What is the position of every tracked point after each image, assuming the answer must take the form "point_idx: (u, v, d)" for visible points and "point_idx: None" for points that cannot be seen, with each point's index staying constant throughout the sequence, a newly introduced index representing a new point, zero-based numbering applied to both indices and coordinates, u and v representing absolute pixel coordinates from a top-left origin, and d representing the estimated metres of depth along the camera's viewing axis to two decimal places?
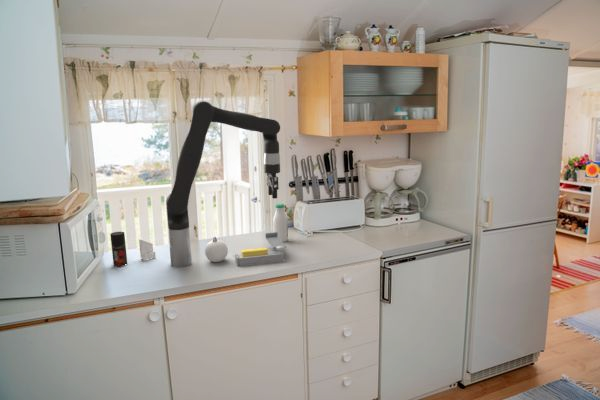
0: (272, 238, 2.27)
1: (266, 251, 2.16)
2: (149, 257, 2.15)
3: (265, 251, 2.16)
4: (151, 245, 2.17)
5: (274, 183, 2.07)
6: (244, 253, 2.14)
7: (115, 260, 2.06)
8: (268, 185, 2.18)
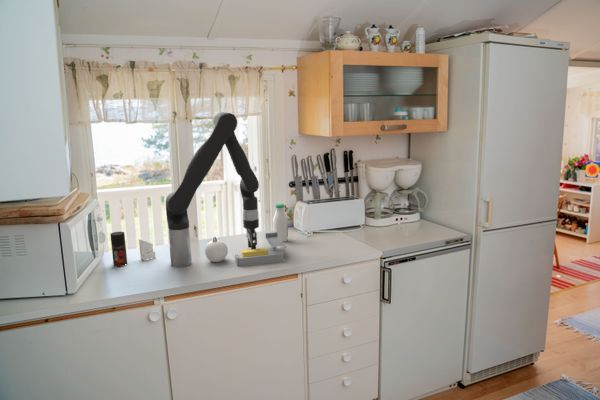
0: (272, 238, 2.27)
1: (266, 252, 2.16)
2: (149, 257, 2.15)
3: (265, 252, 2.15)
4: (151, 245, 2.17)
5: (253, 239, 2.15)
6: (244, 254, 2.13)
7: (115, 260, 2.06)
8: (247, 238, 2.25)
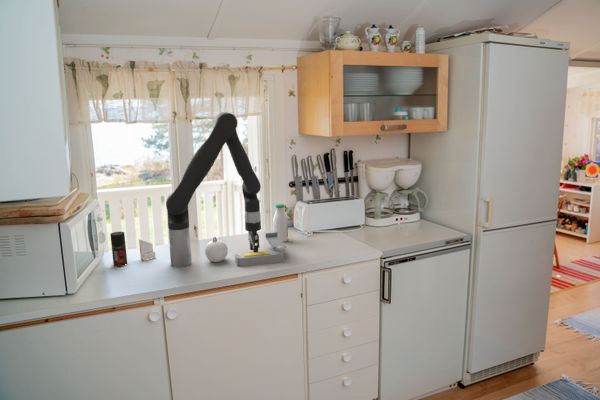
0: (272, 238, 2.27)
1: None
2: (149, 257, 2.15)
3: None
4: (151, 245, 2.17)
5: (255, 242, 2.10)
6: None
7: (115, 260, 2.06)
8: (249, 241, 2.20)
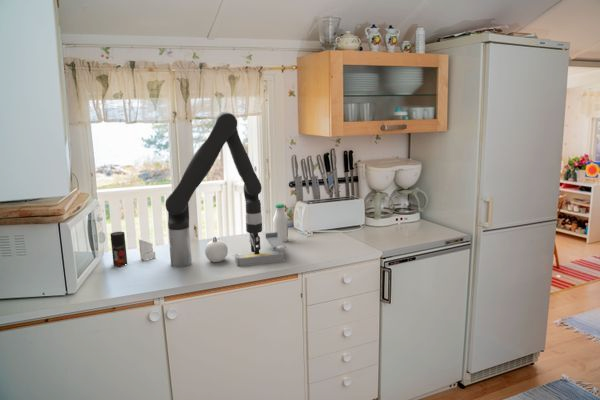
0: (272, 238, 2.27)
1: None
2: (149, 257, 2.15)
3: None
4: (151, 245, 2.17)
5: (256, 243, 2.07)
6: None
7: (115, 260, 2.06)
8: (251, 243, 2.18)
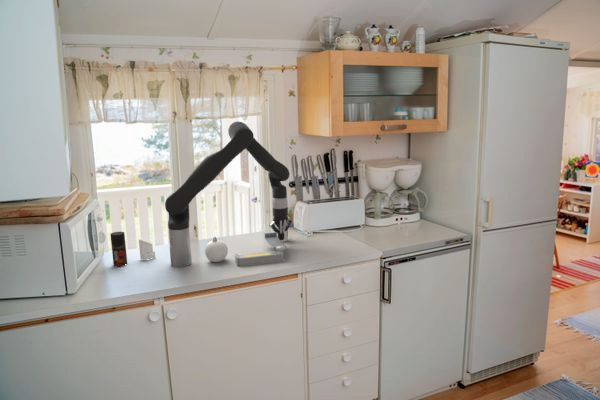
0: (271, 238, 2.27)
1: None
2: (149, 257, 2.15)
3: None
4: (151, 245, 2.17)
5: None
6: None
7: (115, 260, 2.06)
8: (281, 230, 2.26)
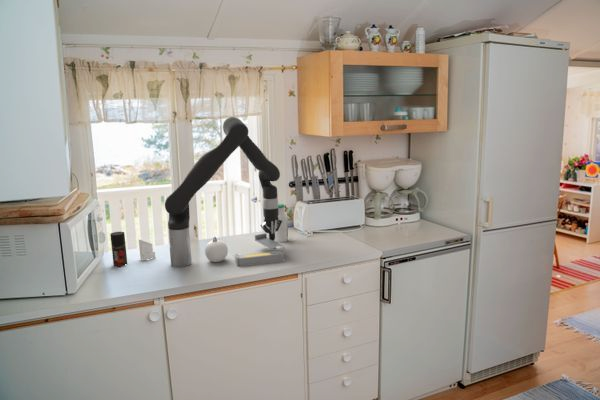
0: (263, 239, 2.25)
1: None
2: (149, 257, 2.15)
3: None
4: (151, 245, 2.17)
5: None
6: None
7: (115, 260, 2.06)
8: (273, 230, 2.25)
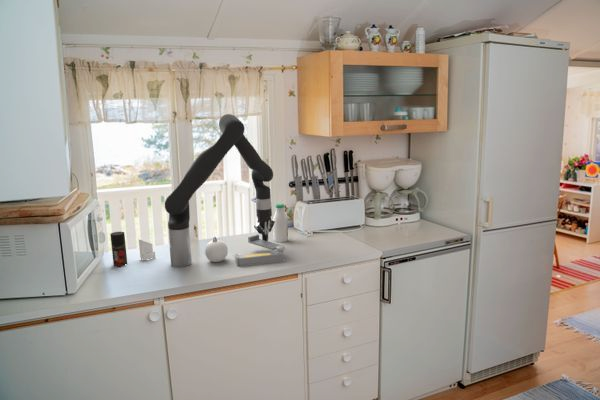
0: (257, 241, 2.22)
1: None
2: (149, 257, 2.15)
3: None
4: (151, 245, 2.17)
5: None
6: None
7: (115, 260, 2.06)
8: (266, 231, 2.23)
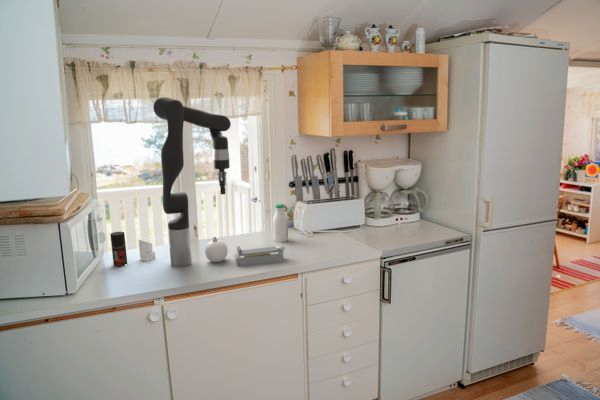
0: (246, 251, 2.07)
1: None
2: (149, 257, 2.15)
3: None
4: (151, 245, 2.17)
5: None
6: None
7: (115, 260, 2.06)
8: None
